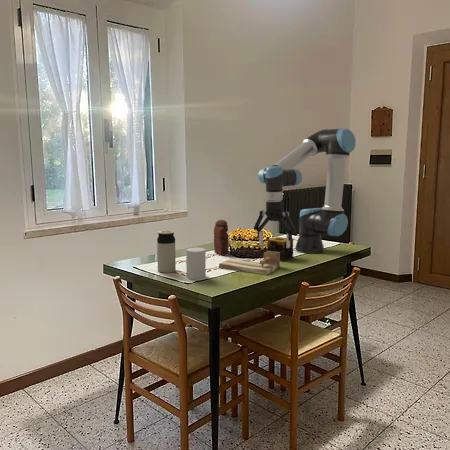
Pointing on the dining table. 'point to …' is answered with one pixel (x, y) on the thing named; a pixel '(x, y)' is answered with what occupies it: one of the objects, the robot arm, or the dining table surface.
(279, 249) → the candle
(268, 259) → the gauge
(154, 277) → the dining table surface
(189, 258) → the grey cylinder
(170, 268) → the travel mug
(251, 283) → the dining table surface
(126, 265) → the dining table surface
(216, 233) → the wooden figurine
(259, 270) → the board
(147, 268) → the dining table surface
